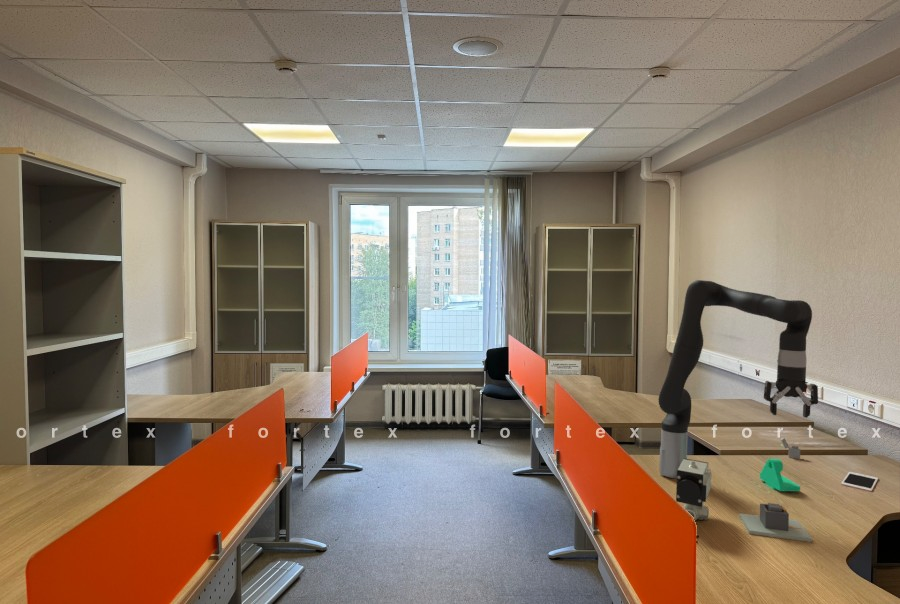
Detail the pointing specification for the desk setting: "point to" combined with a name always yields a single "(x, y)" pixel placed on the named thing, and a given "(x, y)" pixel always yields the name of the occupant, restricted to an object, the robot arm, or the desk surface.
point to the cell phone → (860, 481)
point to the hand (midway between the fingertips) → (789, 415)
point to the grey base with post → (758, 528)
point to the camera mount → (777, 476)
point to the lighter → (792, 450)
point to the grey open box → (774, 518)
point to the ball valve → (694, 487)
